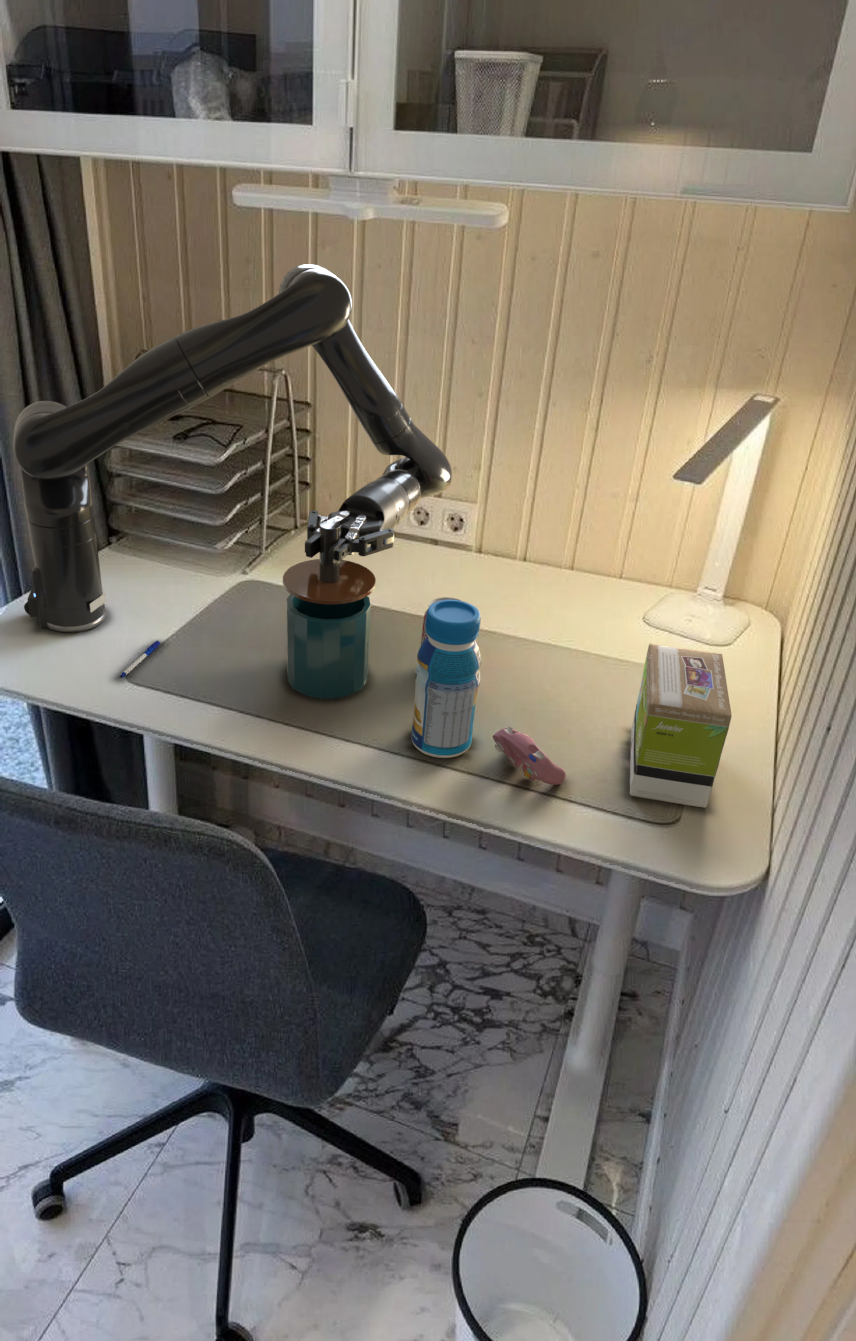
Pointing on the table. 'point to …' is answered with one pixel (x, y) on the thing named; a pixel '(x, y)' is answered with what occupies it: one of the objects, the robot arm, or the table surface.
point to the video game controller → (528, 756)
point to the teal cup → (327, 647)
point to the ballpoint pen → (141, 658)
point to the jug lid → (329, 574)
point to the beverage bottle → (447, 680)
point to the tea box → (679, 725)
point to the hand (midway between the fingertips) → (320, 553)
